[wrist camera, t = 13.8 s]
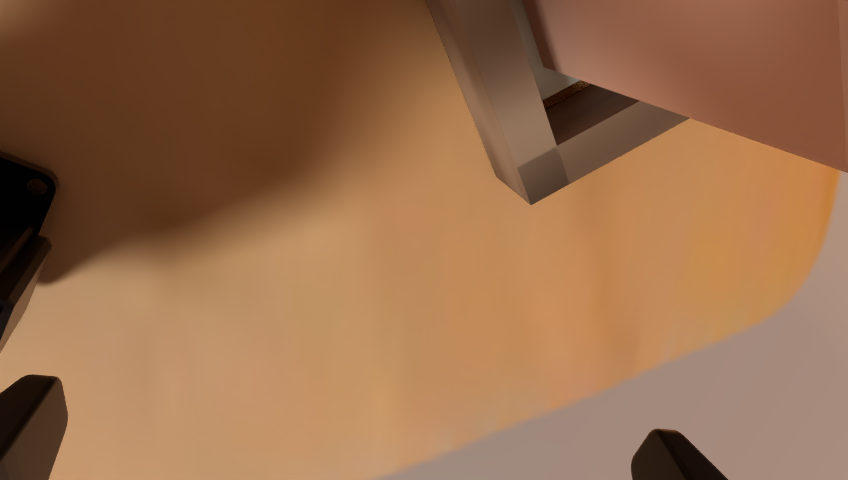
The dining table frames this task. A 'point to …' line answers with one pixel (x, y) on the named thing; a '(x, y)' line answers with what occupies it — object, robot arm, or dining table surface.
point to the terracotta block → (714, 63)
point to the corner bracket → (535, 101)
